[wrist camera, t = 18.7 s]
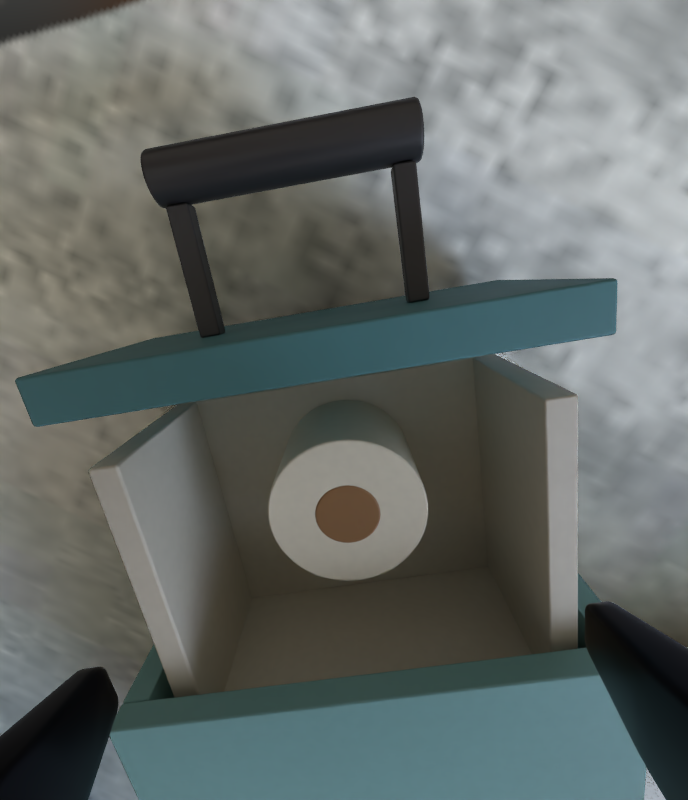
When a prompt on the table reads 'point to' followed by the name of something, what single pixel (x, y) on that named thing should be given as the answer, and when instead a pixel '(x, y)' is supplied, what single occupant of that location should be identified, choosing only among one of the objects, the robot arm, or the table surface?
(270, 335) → the drawer
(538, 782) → the teal cabinet
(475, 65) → the table surface
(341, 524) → the label roll
